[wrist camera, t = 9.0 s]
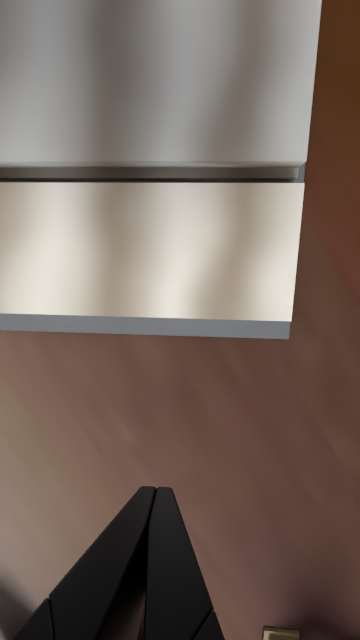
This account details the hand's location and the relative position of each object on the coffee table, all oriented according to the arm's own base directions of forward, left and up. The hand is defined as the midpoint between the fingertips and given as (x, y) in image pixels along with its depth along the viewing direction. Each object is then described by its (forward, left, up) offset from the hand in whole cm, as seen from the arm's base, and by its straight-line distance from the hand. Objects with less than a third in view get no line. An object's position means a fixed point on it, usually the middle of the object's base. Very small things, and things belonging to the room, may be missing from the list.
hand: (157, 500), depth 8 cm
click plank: (+3, -6, -11) cm, 13 cm away
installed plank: (+3, -15, -12) cm, 19 cm away
